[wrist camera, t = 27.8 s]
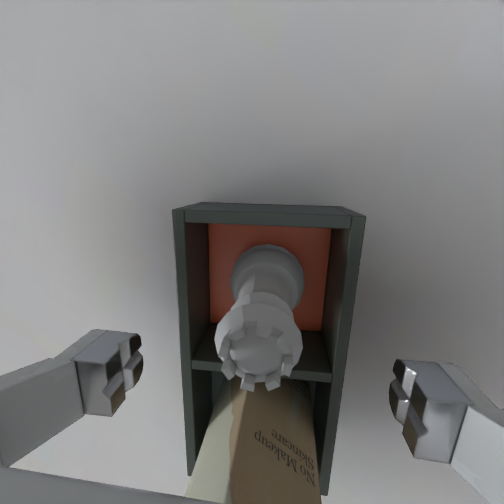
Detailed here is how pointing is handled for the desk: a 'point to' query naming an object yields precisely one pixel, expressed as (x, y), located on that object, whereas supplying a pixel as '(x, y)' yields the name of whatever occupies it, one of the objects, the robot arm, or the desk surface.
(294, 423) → the box
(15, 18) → the desk surface
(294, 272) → the rook chess piece
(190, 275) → the divided tray
